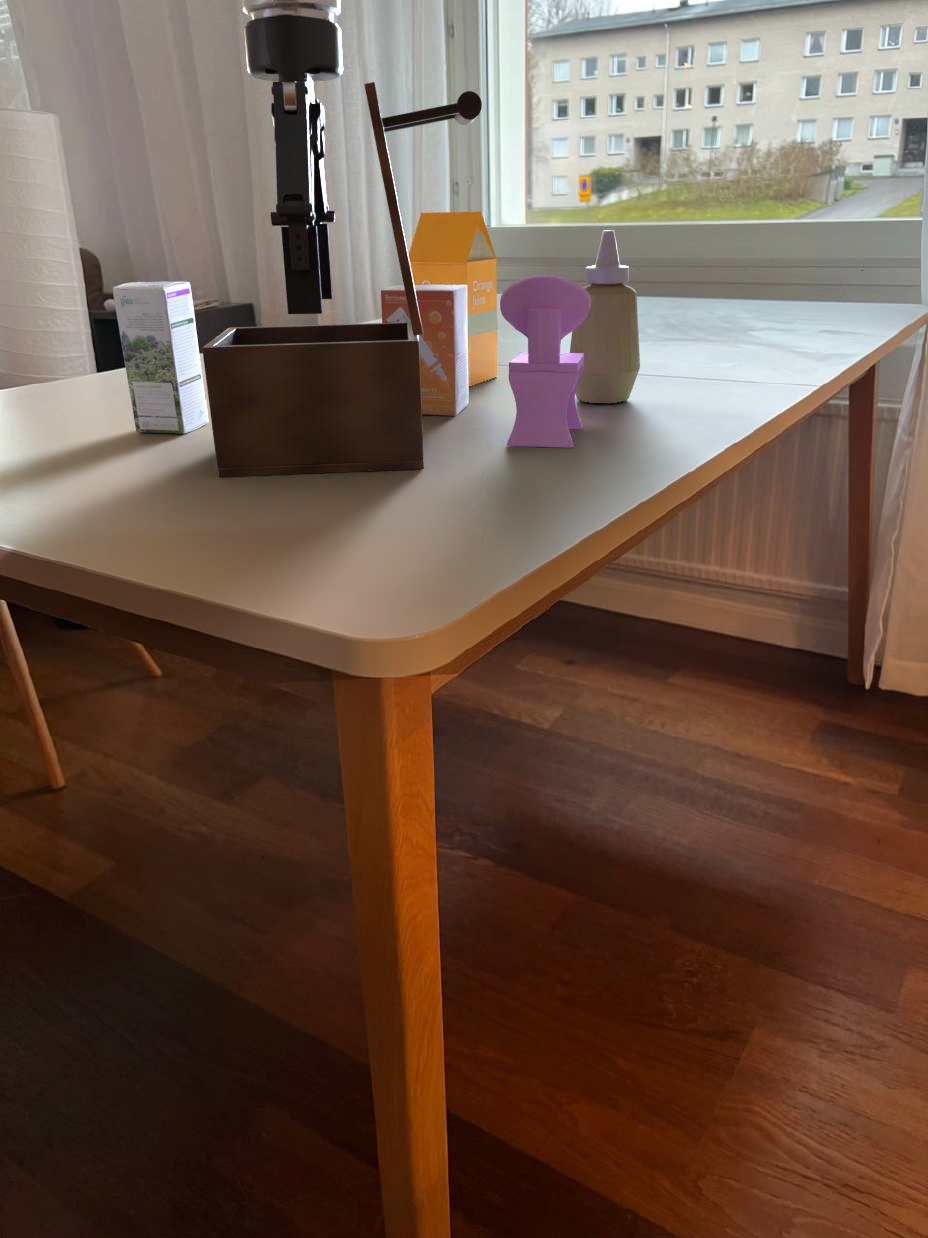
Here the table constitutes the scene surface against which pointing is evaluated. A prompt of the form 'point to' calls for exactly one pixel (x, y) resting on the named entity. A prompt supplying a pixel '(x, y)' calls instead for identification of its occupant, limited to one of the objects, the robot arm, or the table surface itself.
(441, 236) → the orange juice
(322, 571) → the table surface
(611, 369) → the squeeze bottle
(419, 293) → the small box
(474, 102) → the lid
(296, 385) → the chest
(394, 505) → the table surface
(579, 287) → the toy chair
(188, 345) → the syrup box
